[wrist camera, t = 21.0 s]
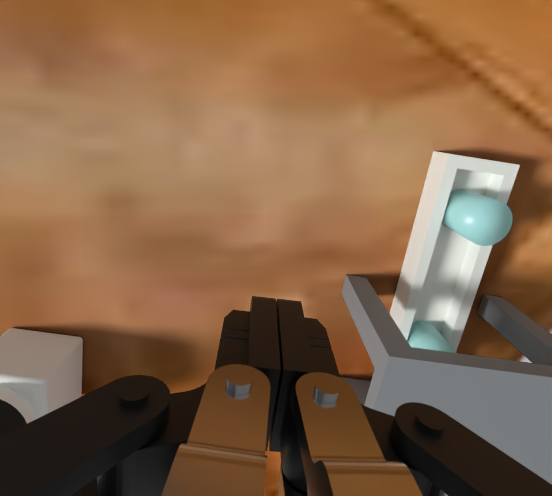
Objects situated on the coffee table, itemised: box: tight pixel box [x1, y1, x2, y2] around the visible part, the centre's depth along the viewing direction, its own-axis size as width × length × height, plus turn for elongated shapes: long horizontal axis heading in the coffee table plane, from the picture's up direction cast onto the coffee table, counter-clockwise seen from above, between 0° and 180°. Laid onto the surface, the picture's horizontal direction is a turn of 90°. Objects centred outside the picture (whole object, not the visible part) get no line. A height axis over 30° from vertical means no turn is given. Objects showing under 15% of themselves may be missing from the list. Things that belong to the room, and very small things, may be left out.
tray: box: [390, 151, 520, 353], centre depth 34 cm, size 22×6×6 cm, turn 172°
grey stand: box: [340, 275, 552, 496], centre depth 33 cm, size 13×16×14 cm
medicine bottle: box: [0, 328, 83, 437], centre depth 34 cm, size 7×7×12 cm
